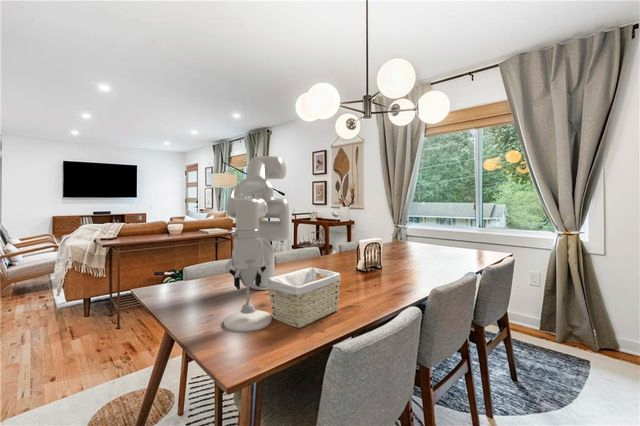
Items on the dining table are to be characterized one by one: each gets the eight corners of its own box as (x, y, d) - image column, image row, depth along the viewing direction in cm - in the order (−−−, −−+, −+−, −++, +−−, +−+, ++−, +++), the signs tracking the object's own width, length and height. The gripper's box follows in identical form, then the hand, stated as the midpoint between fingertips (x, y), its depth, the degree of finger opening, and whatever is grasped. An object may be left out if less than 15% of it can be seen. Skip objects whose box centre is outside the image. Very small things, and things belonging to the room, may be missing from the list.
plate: (263, 310, 117) (263, 307, 117) (278, 325, 103) (278, 322, 103) (219, 317, 110) (219, 314, 110) (229, 335, 96) (229, 332, 96)
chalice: (259, 307, 110) (259, 257, 109) (257, 314, 103) (257, 261, 102) (238, 307, 110) (238, 257, 109) (235, 315, 103) (234, 261, 102)
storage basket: (297, 331, 99) (297, 286, 98) (265, 318, 110) (265, 277, 109) (342, 311, 117) (342, 272, 117) (310, 301, 128) (311, 266, 127)
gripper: (223, 237, 98) (224, 293, 99) (275, 234, 106) (275, 286, 107) (219, 235, 104) (219, 287, 105) (268, 232, 112) (268, 281, 113)
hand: (247, 286), depth 106 cm, fingers closed on chalice, 6 cm apart
